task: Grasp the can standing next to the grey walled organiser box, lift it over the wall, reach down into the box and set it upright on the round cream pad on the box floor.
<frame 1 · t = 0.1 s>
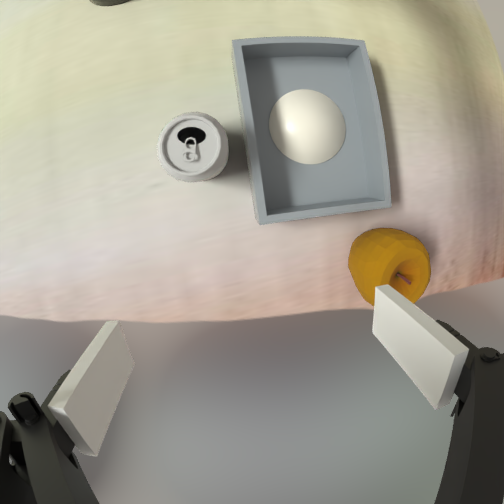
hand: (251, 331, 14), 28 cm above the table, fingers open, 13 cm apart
walled box: (306, 127, 37), on the table
apple: (365, 252, 43), on the table
can: (201, 154, 38), on the table
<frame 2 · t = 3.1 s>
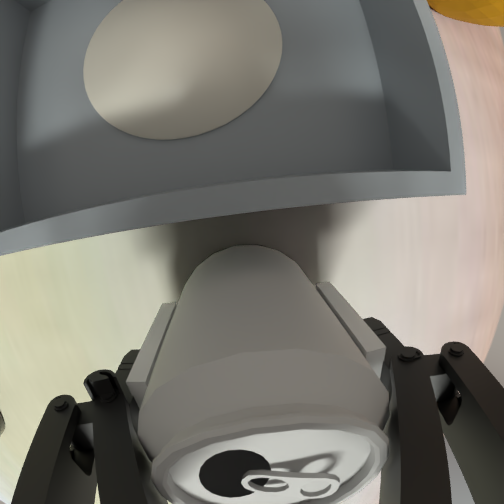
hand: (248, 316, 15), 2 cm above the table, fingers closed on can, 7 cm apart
walled box: (180, 51, 13), on the table
can: (247, 302, 17), on the table, touching gripper
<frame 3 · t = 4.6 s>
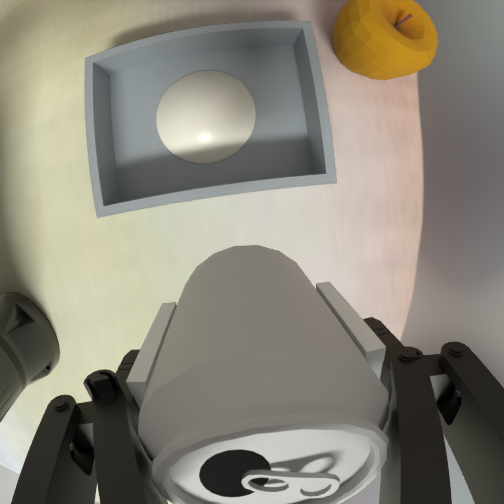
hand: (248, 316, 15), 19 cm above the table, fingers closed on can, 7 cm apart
walled box: (206, 116, 29), on the table
apple: (357, 56, 28), on the table
can: (247, 302, 17), point 17 cm above the table, touching gripper
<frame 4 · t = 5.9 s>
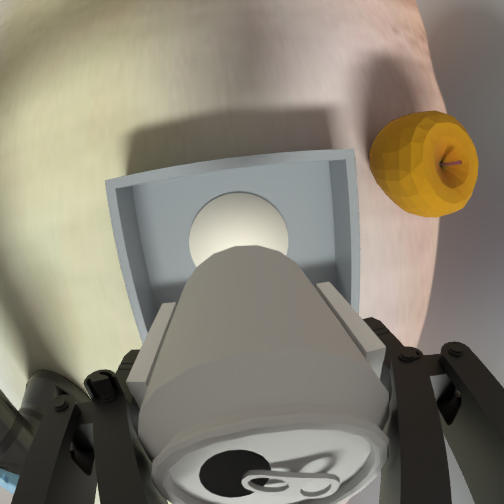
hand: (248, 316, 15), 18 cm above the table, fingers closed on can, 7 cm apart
walled box: (238, 240, 33), on the table
apple: (389, 163, 32), on the table
can: (247, 302, 17), point 17 cm above the table, touching gripper
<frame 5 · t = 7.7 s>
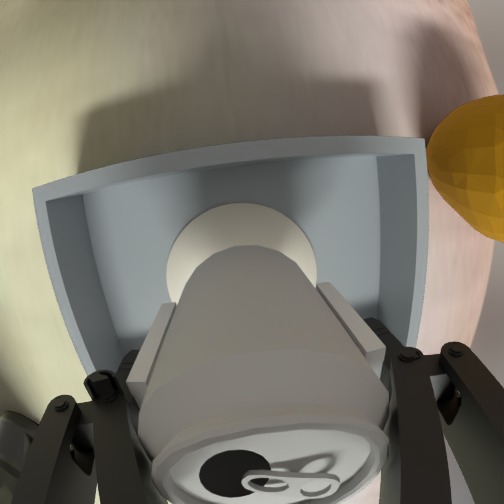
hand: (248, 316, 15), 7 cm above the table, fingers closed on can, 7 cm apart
walled box: (241, 274, 22), on the table
apple: (447, 163, 21), on the table
can: (247, 302, 17), point 5 cm above the table, touching gripper
when the fingers open (4 cm above the table, at t = 9.2 s): can drops 1 cm, resting on walled box.
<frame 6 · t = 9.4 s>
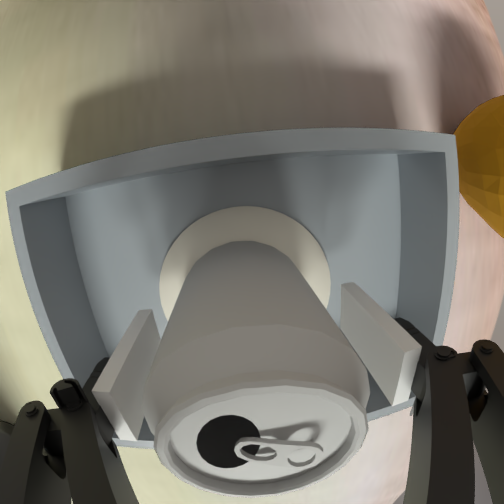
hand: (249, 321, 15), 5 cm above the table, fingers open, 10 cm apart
walled box: (245, 287, 19), on the table
apple: (468, 164, 18), on the table
can: (243, 294, 18), point 1 cm above the table, touching walled box
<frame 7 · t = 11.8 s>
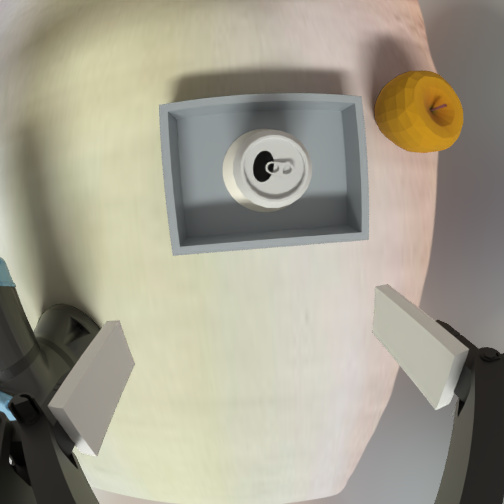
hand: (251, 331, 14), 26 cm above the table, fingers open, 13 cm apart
walled box: (264, 170, 37), on the table
apple: (392, 120, 36), on the table
can: (264, 170, 36), point 1 cm above the table, touching walled box
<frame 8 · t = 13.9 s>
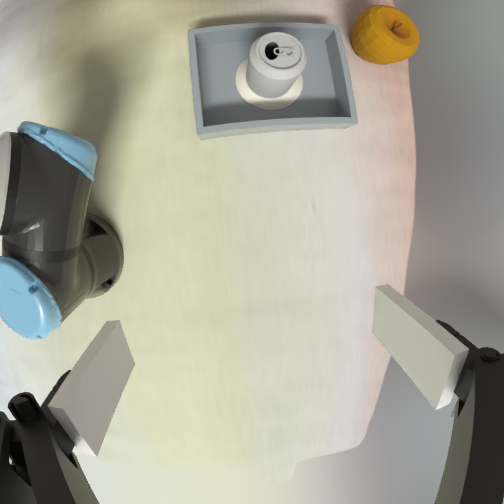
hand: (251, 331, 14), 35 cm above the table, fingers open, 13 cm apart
walled box: (268, 81, 41), on the table
apple: (366, 50, 40), on the table
can: (268, 79, 40), point 1 cm above the table, touching walled box
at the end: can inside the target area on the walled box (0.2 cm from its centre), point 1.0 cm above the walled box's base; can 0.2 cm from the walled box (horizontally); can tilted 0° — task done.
